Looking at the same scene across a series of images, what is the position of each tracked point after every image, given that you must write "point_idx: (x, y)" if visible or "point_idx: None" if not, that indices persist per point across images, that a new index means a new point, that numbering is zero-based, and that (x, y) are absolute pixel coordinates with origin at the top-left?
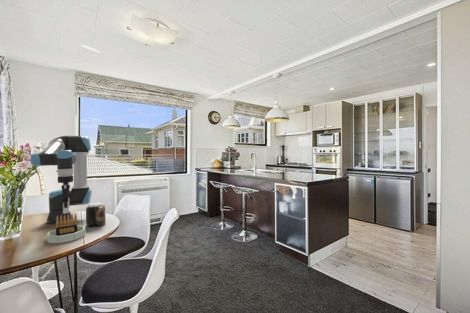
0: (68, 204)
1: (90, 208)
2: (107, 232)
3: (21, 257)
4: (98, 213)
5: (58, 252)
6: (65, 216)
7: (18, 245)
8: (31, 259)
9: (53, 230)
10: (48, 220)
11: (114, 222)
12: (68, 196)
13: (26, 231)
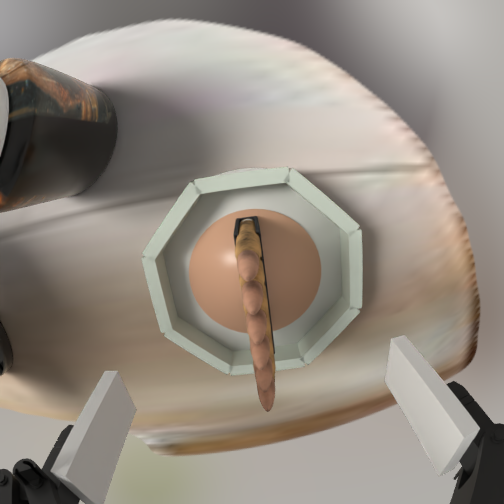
0: (459, 402)
1: (14, 163)
2: (287, 48)
3: None
4: (64, 94)
5: (456, 263)
6: (264, 352)
7: (267, 422)
8: (455, 332)
9: (209, 357)
10: (4, 371)
11: (83, 42)
12: (54, 493)
13: None
